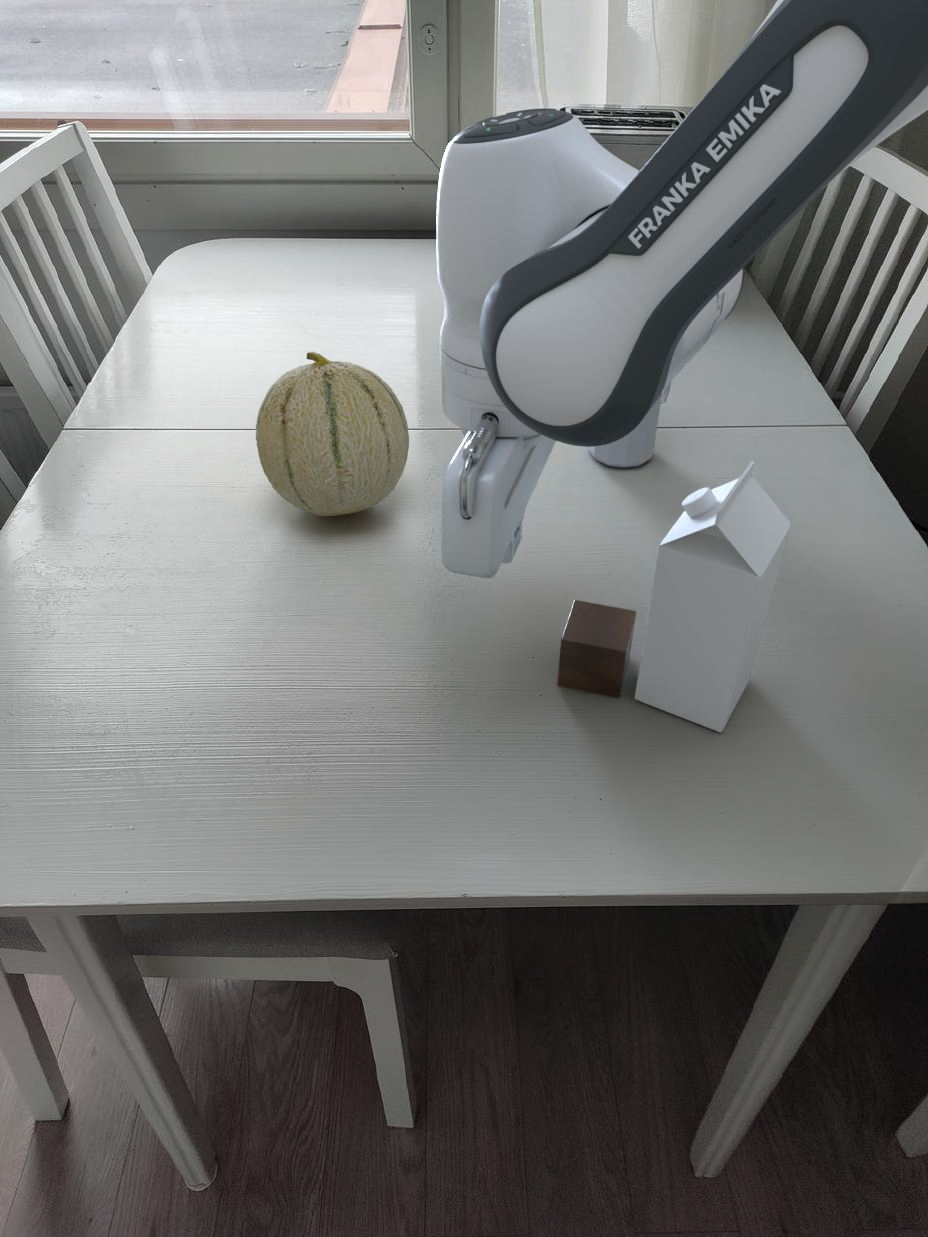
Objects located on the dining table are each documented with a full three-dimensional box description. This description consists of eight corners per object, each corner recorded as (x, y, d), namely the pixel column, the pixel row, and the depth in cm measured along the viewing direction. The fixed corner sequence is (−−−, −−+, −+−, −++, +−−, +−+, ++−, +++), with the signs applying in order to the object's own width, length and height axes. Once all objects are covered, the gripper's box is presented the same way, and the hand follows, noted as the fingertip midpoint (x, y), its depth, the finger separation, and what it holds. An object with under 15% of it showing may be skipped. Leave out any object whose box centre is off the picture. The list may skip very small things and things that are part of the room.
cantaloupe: (336, 565, 88) (320, 419, 78) (235, 507, 95) (208, 367, 86) (443, 498, 97) (441, 359, 87) (343, 449, 104) (330, 315, 94)
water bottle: (615, 480, 99) (644, 233, 83) (571, 446, 104) (590, 208, 88) (683, 456, 103) (724, 215, 86) (637, 425, 108) (668, 192, 92)
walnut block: (629, 657, 79) (636, 610, 75) (619, 698, 75) (626, 651, 72) (569, 645, 80) (574, 599, 76) (557, 686, 76) (561, 639, 73)
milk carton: (750, 678, 77) (804, 474, 64) (721, 735, 72) (773, 527, 60) (666, 648, 79) (703, 447, 67) (633, 701, 75) (665, 495, 62)
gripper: (514, 469, 55) (511, 647, 64) (584, 326, 70) (573, 487, 79) (410, 454, 56) (421, 631, 65) (501, 318, 71) (499, 477, 80)
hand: (505, 551), depth 72 cm, fingers closed
